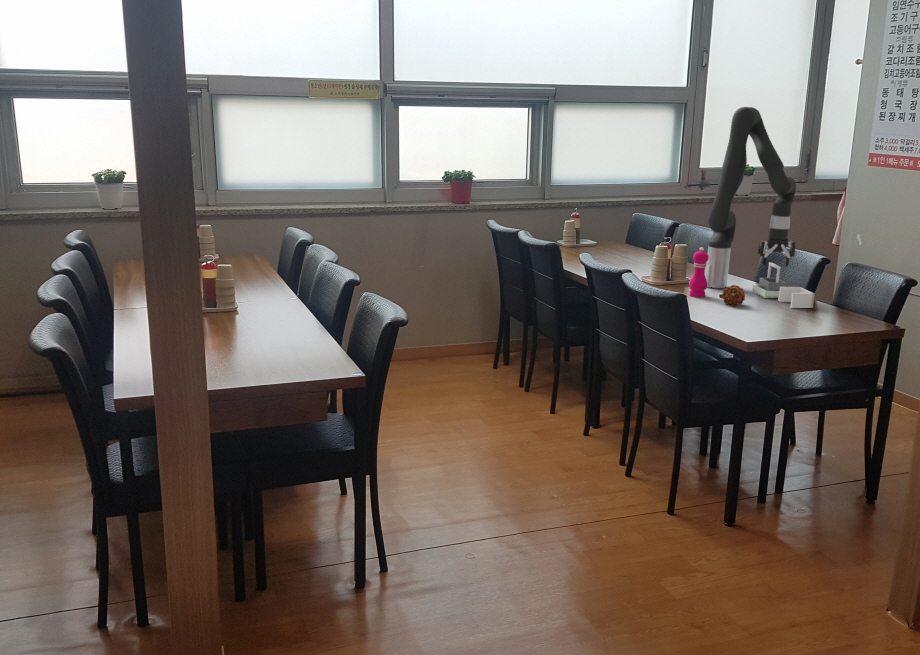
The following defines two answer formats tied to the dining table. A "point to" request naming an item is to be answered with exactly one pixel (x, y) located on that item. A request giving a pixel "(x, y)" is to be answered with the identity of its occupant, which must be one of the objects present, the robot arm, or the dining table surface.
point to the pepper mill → (699, 274)
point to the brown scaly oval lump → (733, 295)
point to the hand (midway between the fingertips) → (774, 266)
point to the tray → (765, 292)
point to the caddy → (772, 280)
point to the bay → (796, 297)
